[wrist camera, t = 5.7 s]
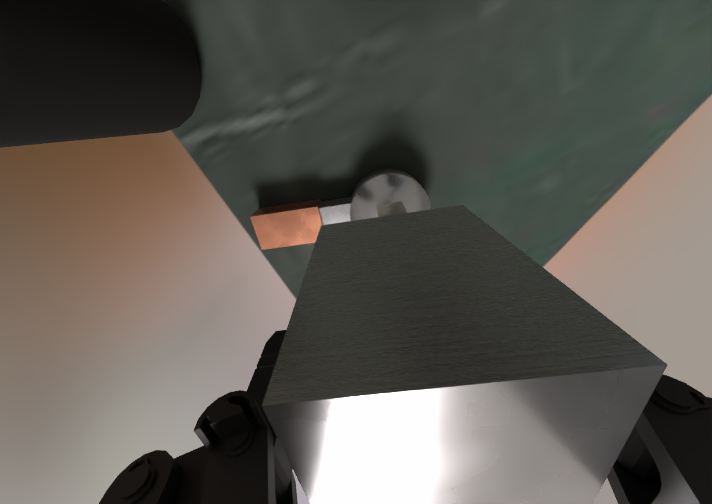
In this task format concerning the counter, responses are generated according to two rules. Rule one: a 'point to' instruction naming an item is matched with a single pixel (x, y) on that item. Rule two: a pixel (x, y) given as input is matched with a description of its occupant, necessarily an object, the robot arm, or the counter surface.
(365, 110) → the counter surface
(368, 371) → the silver metal block
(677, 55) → the counter surface
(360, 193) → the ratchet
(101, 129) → the coffee jar
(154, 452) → the robot arm
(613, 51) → the counter surface
